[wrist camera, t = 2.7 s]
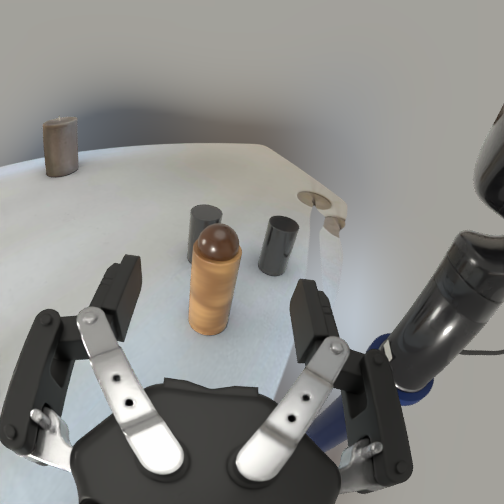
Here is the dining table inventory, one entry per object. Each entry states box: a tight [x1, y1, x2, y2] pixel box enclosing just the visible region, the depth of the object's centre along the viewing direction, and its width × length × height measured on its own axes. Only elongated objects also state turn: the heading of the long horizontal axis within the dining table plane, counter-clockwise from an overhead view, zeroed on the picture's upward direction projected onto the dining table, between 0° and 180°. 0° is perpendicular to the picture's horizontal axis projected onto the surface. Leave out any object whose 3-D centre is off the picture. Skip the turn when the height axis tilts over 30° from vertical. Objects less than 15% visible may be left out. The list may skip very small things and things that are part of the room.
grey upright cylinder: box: [187, 205, 222, 263], centre depth 41 cm, size 4×4×8 cm
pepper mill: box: [189, 223, 242, 335], centre depth 30 cm, size 5×5×14 cm
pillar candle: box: [43, 116, 78, 177], centre depth 56 cm, size 10×10×15 cm
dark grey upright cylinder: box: [258, 216, 299, 276], centre depth 43 cm, size 4×4×8 cm
